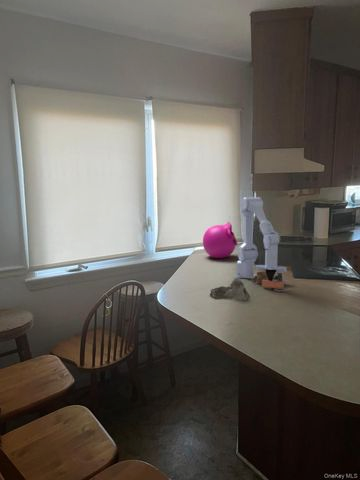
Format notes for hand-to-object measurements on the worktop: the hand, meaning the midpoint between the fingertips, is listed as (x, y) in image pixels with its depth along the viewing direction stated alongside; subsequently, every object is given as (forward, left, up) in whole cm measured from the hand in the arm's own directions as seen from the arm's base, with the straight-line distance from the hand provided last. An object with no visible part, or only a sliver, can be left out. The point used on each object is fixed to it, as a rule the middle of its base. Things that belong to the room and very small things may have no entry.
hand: (270, 284), depth 173 cm
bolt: (-1, +8, -1) cm, 8 cm away
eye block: (-4, +8, -1) cm, 9 cm away
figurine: (-41, +62, -2) cm, 75 cm away
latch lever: (+1, -3, 0) cm, 3 cm away
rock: (-16, -20, -2) cm, 26 cm away
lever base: (+5, -4, -1) cm, 6 cm away
